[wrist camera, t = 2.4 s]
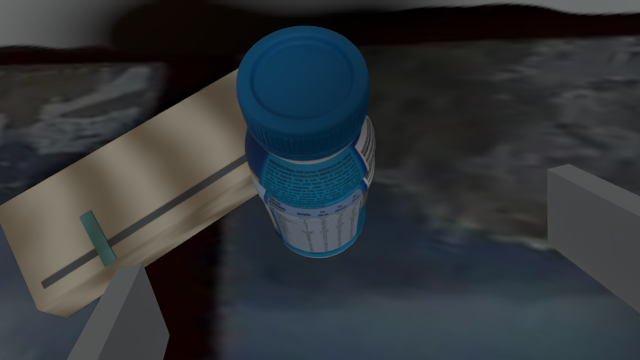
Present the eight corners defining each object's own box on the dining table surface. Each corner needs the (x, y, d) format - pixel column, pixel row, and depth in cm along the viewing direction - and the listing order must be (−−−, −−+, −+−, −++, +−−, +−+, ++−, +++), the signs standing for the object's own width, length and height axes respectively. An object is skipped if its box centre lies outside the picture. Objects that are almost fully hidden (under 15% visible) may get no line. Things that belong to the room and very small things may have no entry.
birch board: (281, 72, 47) (276, 45, 43) (339, 140, 44) (339, 116, 40) (24, 224, 41) (-7, 208, 37) (67, 317, 38) (37, 310, 34)
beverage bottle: (314, 282, 38) (291, 185, 20) (252, 212, 41) (182, 71, 23) (386, 217, 40) (424, 76, 22) (322, 155, 43) (309, -16, 25)
